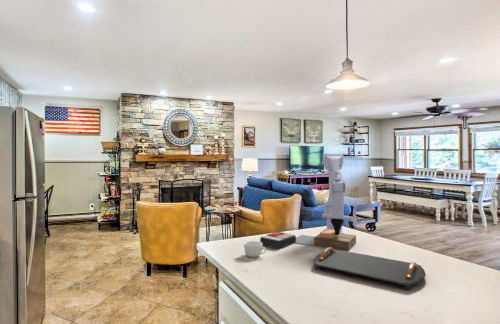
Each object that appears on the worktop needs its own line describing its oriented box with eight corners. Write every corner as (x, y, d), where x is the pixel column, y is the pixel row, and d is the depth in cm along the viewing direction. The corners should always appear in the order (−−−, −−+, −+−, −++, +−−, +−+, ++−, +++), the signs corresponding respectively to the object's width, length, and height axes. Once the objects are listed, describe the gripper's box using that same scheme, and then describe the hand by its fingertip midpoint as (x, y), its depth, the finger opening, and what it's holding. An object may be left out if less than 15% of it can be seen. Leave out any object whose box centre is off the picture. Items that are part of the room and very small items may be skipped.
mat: (301, 235, 173) (301, 234, 173) (323, 238, 166) (323, 237, 166) (289, 242, 159) (289, 241, 159) (312, 246, 153) (312, 245, 153)
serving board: (429, 273, 119) (429, 257, 118) (418, 296, 100) (419, 276, 100) (329, 254, 142) (329, 240, 141) (305, 269, 123) (305, 253, 123)
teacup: (240, 256, 137) (240, 244, 137) (249, 252, 144) (249, 240, 143) (261, 260, 132) (261, 247, 132) (270, 255, 138) (270, 243, 138)
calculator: (296, 234, 159) (279, 239, 147) (296, 243, 159) (278, 249, 147) (277, 230, 166) (259, 235, 154) (277, 239, 166) (259, 244, 154)
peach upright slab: (325, 232, 162) (325, 228, 162) (337, 234, 159) (337, 230, 159) (319, 236, 154) (319, 232, 154) (332, 238, 151) (332, 234, 151)
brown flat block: (323, 239, 165) (323, 231, 165) (355, 243, 157) (355, 235, 157) (314, 245, 153) (314, 237, 153) (348, 250, 145) (348, 242, 145)
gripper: (320, 206, 155) (319, 234, 155) (350, 209, 147) (350, 238, 147) (324, 204, 161) (324, 231, 161) (354, 206, 153) (354, 235, 154)
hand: (337, 234), depth 155 cm, fingers closed
